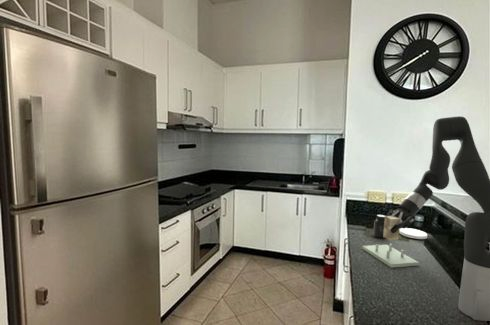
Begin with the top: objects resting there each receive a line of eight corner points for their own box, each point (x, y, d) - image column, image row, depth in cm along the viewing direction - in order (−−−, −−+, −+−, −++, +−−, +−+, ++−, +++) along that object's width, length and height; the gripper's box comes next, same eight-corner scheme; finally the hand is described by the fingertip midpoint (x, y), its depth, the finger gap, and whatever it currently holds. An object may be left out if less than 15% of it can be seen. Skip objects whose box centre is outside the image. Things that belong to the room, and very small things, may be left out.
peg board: (418, 265, 127) (419, 255, 126) (391, 267, 124) (392, 257, 123) (386, 247, 146) (387, 238, 146) (362, 248, 143) (363, 240, 143)
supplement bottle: (388, 236, 162) (390, 216, 161) (384, 239, 157) (386, 218, 156) (375, 233, 167) (377, 213, 166) (371, 236, 162) (373, 215, 161)
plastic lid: (412, 241, 157) (413, 237, 157) (393, 232, 171) (393, 228, 170) (433, 240, 161) (433, 235, 160) (412, 231, 174) (413, 227, 174)
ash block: (398, 239, 133) (400, 218, 131) (389, 240, 132) (391, 219, 130) (391, 236, 137) (393, 215, 136) (383, 236, 136) (385, 216, 135)
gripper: (396, 195, 141) (373, 219, 139) (420, 202, 127) (394, 230, 126) (404, 205, 143) (381, 230, 141) (429, 213, 129) (403, 241, 127)
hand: (387, 229), depth 133 cm, fingers closed on ash block, 4 cm apart
